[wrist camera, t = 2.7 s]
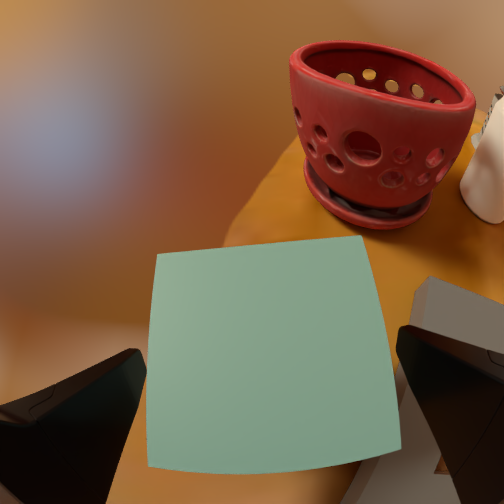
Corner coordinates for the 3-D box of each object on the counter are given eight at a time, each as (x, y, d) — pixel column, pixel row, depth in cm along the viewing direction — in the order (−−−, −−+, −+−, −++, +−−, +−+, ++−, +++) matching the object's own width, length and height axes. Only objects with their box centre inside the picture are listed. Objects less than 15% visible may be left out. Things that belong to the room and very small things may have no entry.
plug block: (320, 424, 14) (401, 448, 4) (235, 431, 14) (147, 466, 4) (312, 347, 17) (361, 235, 6) (232, 354, 17) (157, 254, 7)
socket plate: (499, 513, 6) (516, 517, 4) (335, 511, 10) (343, 524, 8) (543, 340, 13) (560, 330, 11) (415, 291, 18) (429, 275, 16)
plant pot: (411, 151, 26) (437, 54, 16) (440, 253, 19) (513, 136, 9) (295, 136, 28) (292, 29, 18) (284, 237, 21) (280, 86, 11)
